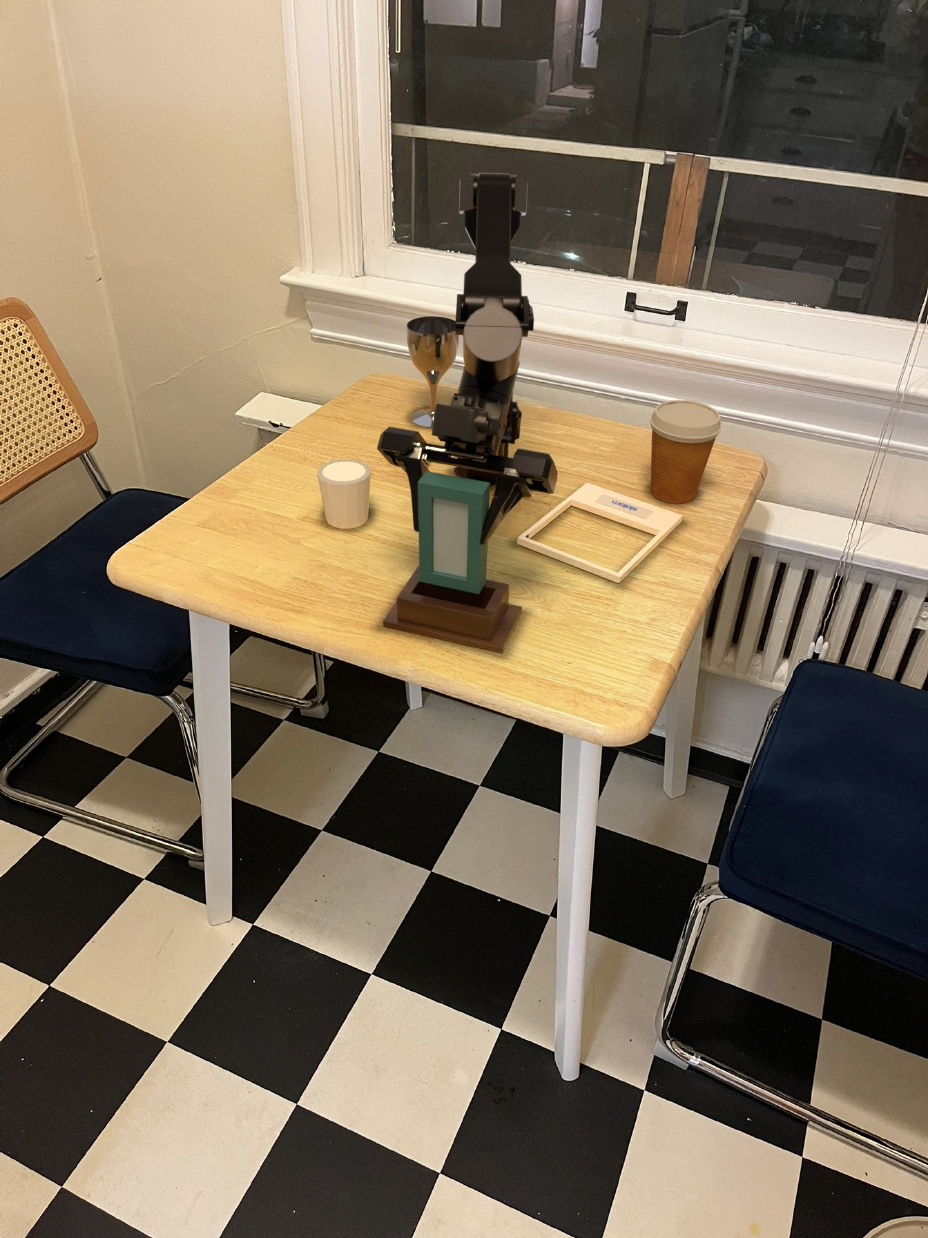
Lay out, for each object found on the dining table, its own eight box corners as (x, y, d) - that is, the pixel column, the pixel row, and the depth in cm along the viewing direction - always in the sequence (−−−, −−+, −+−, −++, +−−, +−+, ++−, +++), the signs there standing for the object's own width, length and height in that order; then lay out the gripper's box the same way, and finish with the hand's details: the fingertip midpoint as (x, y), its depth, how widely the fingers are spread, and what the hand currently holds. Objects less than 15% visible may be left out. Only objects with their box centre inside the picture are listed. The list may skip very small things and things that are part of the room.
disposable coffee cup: (705, 479, 131) (721, 401, 124) (708, 513, 123) (726, 432, 116) (639, 473, 132) (651, 395, 125) (638, 506, 125) (650, 425, 117)
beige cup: (364, 534, 118) (362, 486, 113) (314, 527, 119) (309, 480, 114) (379, 507, 123) (377, 461, 119) (330, 501, 124) (326, 455, 120)
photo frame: (683, 514, 121) (620, 575, 109) (681, 521, 121) (618, 583, 110) (586, 481, 127) (517, 536, 115) (586, 488, 128) (517, 543, 116)
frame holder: (408, 587, 108) (408, 559, 106) (521, 611, 105) (523, 583, 102) (383, 626, 102) (381, 598, 100) (502, 653, 99) (503, 624, 96)
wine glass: (403, 426, 143) (401, 332, 134) (414, 405, 149) (412, 314, 140) (453, 430, 142) (454, 336, 133) (461, 409, 148) (463, 318, 139)
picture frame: (426, 569, 102) (426, 470, 95) (486, 581, 101) (490, 482, 93) (419, 581, 100) (417, 482, 93) (479, 594, 99) (482, 494, 91)
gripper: (380, 352, 91) (341, 500, 90) (560, 379, 87) (522, 535, 85) (409, 395, 102) (375, 528, 101) (571, 421, 98) (538, 561, 96)
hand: (448, 537), depth 95 cm, fingers closed on picture frame, 7 cm apart
